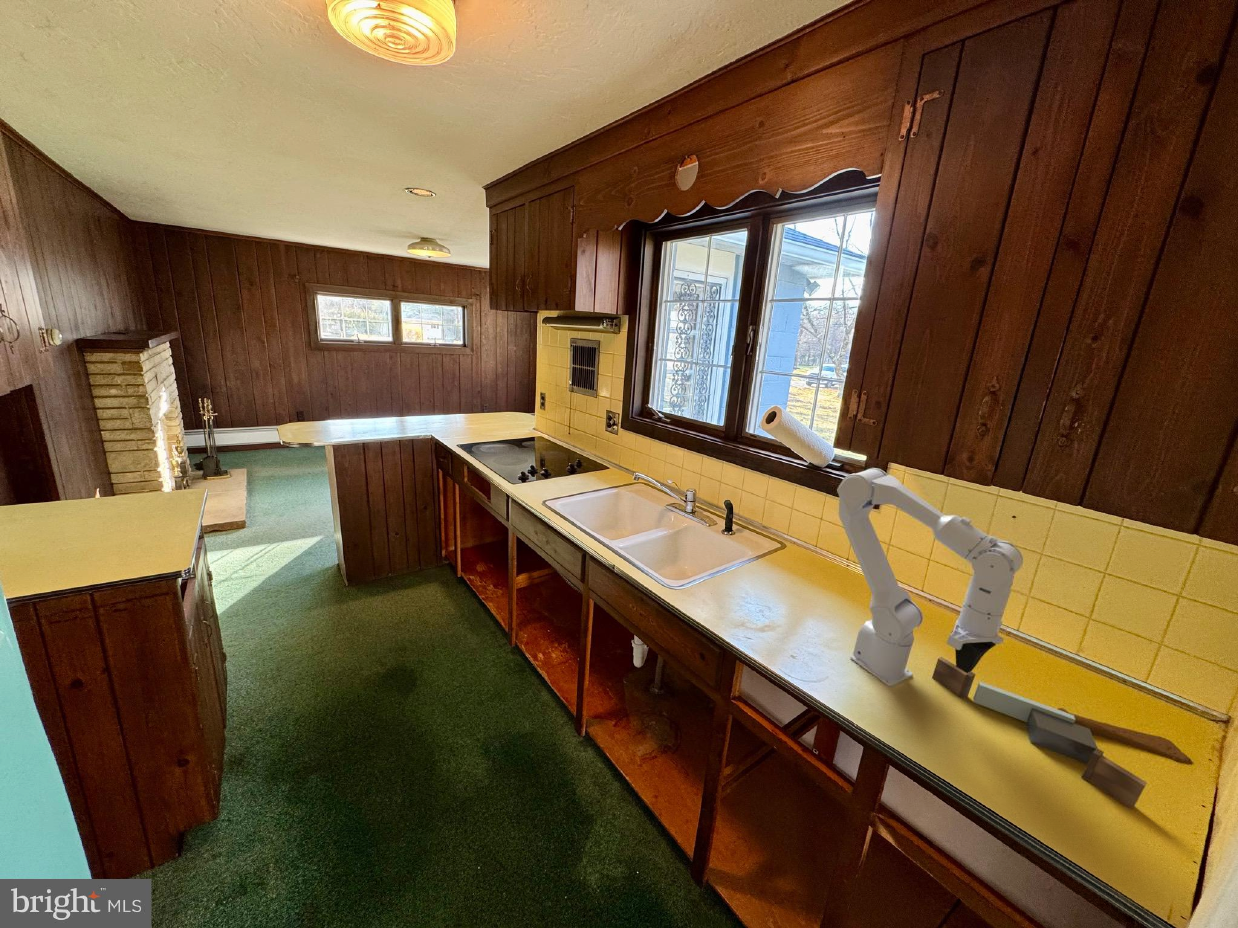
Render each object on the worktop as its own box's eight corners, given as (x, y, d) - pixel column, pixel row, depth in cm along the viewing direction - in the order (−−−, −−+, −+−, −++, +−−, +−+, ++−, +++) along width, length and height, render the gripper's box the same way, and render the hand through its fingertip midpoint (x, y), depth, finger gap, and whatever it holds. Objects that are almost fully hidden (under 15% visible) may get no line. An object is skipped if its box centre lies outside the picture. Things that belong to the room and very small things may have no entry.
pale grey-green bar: (973, 701, 91) (979, 684, 90) (972, 695, 93) (978, 678, 92) (1067, 737, 84) (1075, 719, 83) (1064, 730, 86) (1072, 712, 85)
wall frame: (931, 677, 98) (938, 656, 96) (935, 675, 98) (942, 654, 97) (1130, 809, 72) (1144, 784, 71) (1135, 805, 73) (1149, 779, 71)
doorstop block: (1030, 743, 83) (1037, 726, 82) (1025, 724, 87) (1031, 707, 86) (1089, 766, 79) (1098, 749, 78) (1081, 746, 83) (1089, 728, 82)
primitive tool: (1168, 741, 86) (1176, 727, 85) (1195, 767, 81) (1204, 752, 80) (1048, 716, 90) (1054, 702, 89) (1066, 739, 85) (1073, 724, 84)
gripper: (987, 629, 77) (966, 695, 80) (1029, 609, 83) (1007, 671, 87) (942, 606, 82) (924, 669, 86) (985, 589, 89) (966, 648, 93)
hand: (963, 668), depth 87 cm, fingers closed
